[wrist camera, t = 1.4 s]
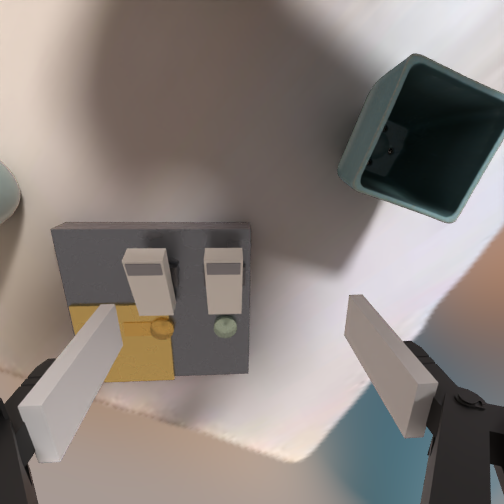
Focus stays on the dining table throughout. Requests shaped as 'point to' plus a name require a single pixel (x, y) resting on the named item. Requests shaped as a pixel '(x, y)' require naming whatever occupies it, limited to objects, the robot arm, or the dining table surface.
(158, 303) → the rocker
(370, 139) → the flower pot
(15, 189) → the cup
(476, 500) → the robot arm
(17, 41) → the dining table surface
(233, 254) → the rocker
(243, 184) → the dining table surface
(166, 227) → the panel
